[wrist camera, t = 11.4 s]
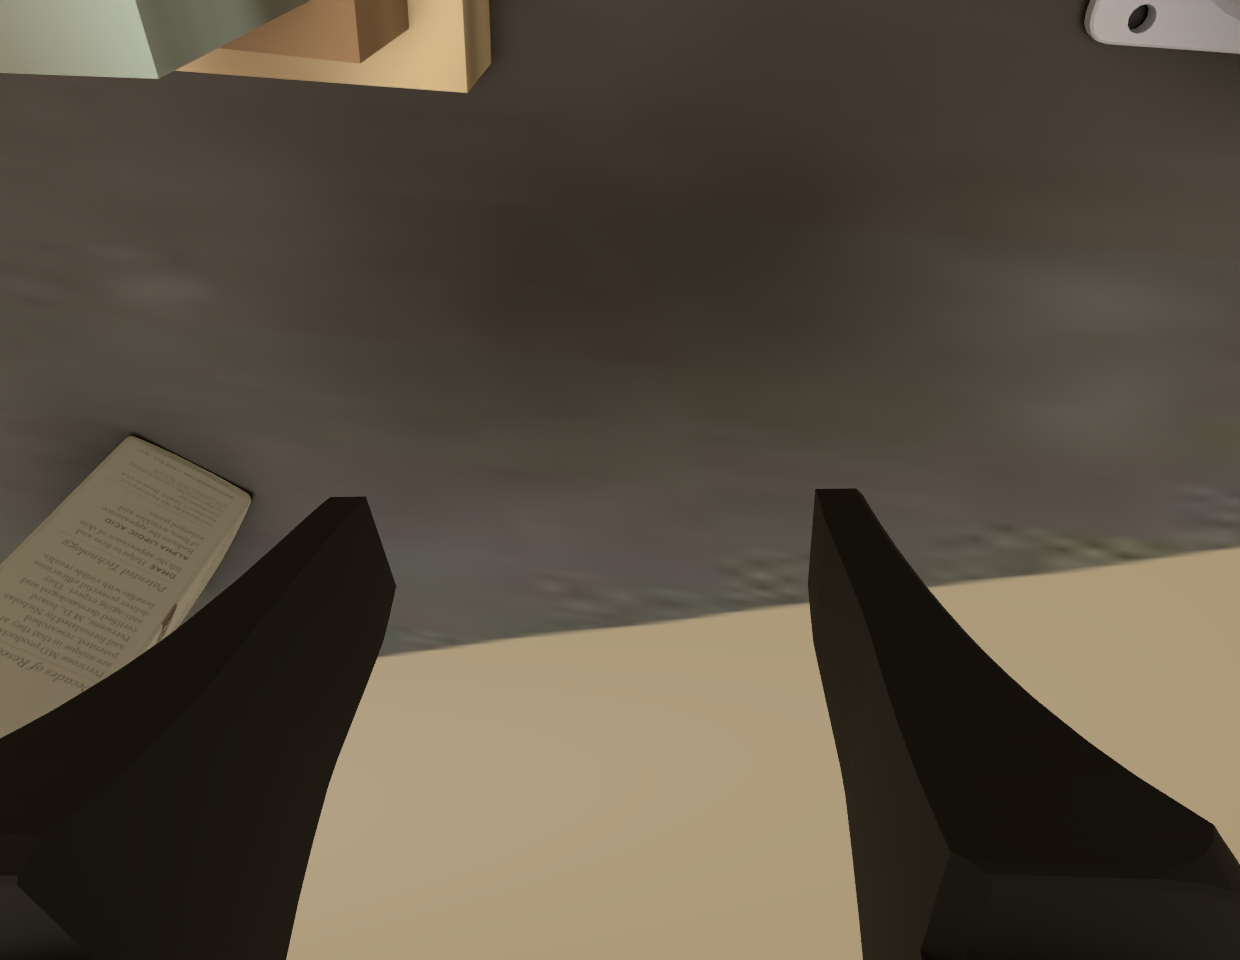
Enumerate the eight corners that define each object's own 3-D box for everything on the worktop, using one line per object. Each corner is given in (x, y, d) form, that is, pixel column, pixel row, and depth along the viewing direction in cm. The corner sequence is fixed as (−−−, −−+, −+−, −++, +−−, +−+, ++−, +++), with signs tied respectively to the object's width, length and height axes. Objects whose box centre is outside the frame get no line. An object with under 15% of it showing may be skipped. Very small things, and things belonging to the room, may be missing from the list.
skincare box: (205, 593, 31) (-14, 941, 21) (79, 536, 30) (-214, 881, 20) (261, 487, 28) (31, 844, 18) (122, 418, 26) (-207, 765, 17)
